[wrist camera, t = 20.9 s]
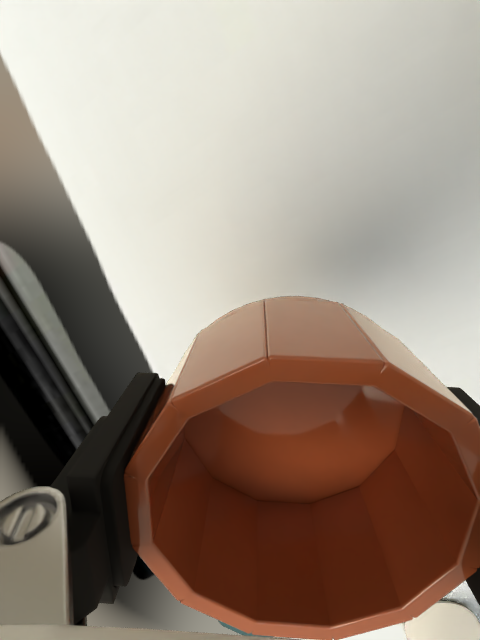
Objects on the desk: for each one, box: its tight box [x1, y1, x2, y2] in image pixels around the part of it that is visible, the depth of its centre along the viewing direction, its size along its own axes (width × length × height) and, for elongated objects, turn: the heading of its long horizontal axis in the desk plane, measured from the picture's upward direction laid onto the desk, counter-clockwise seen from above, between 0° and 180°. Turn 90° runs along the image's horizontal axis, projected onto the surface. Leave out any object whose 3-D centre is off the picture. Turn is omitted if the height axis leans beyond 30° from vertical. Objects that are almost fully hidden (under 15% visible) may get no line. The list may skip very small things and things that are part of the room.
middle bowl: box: [124, 296, 480, 640], centre depth 9 cm, size 7×7×5 cm
